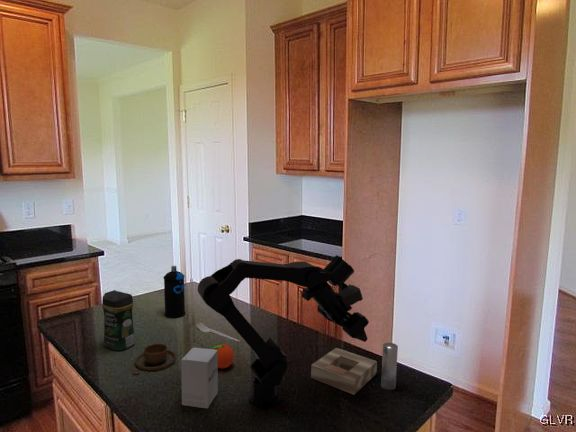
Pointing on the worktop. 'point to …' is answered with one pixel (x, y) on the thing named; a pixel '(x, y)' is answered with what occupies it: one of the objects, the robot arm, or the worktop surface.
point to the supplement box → (199, 377)
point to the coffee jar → (118, 320)
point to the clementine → (224, 355)
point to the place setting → (154, 357)
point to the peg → (389, 366)
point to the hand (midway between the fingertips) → (356, 333)
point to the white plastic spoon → (213, 331)
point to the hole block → (344, 370)
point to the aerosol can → (174, 294)
